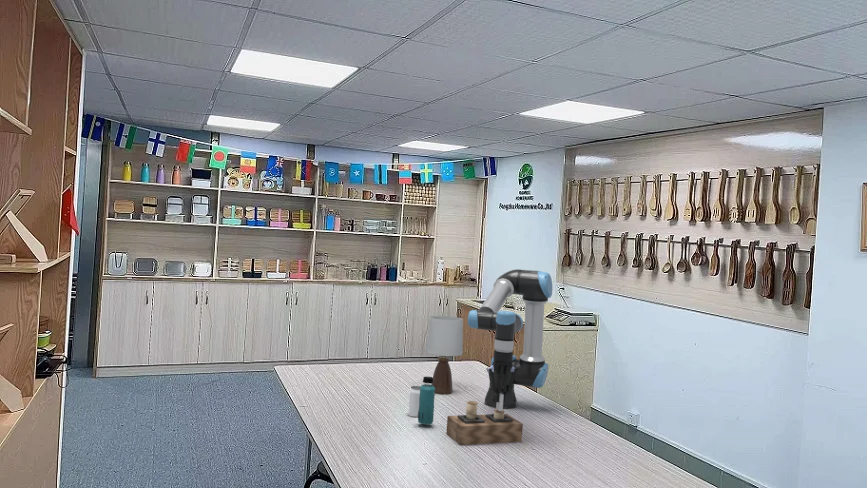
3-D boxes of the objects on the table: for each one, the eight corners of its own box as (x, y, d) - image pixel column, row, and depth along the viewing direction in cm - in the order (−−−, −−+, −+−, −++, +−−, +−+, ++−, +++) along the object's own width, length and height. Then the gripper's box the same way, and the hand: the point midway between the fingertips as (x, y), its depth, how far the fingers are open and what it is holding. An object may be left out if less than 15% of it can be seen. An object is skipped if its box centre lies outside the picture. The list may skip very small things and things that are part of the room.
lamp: (467, 394, 325) (472, 320, 324) (436, 397, 314) (441, 321, 314) (445, 386, 340) (450, 315, 340) (415, 388, 330) (420, 315, 329)
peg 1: (473, 420, 257) (474, 400, 257) (477, 423, 253) (479, 403, 253) (464, 421, 255) (465, 401, 255) (468, 424, 252) (469, 403, 252)
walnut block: (505, 430, 267) (506, 411, 267) (521, 441, 254) (523, 421, 254) (446, 433, 258) (447, 413, 258) (460, 445, 245) (461, 423, 245)
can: (421, 418, 278) (423, 390, 277) (406, 416, 279) (408, 388, 279) (424, 414, 284) (426, 386, 284) (410, 412, 285) (411, 385, 285)
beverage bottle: (435, 425, 269) (438, 376, 269) (429, 429, 263) (433, 379, 262) (420, 422, 271) (423, 374, 271) (414, 426, 265) (418, 377, 265)
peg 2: (500, 428, 261) (501, 409, 261) (504, 431, 257) (506, 412, 257) (491, 429, 260) (492, 409, 260) (495, 432, 256) (497, 412, 256)
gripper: (513, 348, 264) (509, 407, 264) (484, 348, 259) (480, 408, 259) (522, 352, 257) (518, 412, 257) (492, 352, 252) (488, 413, 252)
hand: (499, 410), depth 258 cm, fingers closed
